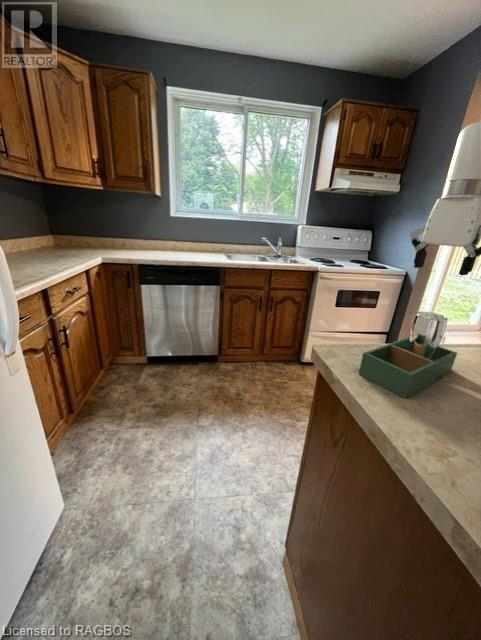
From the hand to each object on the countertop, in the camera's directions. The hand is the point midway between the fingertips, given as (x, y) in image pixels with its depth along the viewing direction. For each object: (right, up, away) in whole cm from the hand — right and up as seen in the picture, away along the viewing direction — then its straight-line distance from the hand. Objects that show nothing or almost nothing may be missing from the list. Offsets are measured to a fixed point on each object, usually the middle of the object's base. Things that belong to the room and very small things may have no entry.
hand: (439, 270), depth 64 cm
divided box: (-5, -26, +5) cm, 27 cm away
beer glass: (0, -25, +8) cm, 26 cm away
